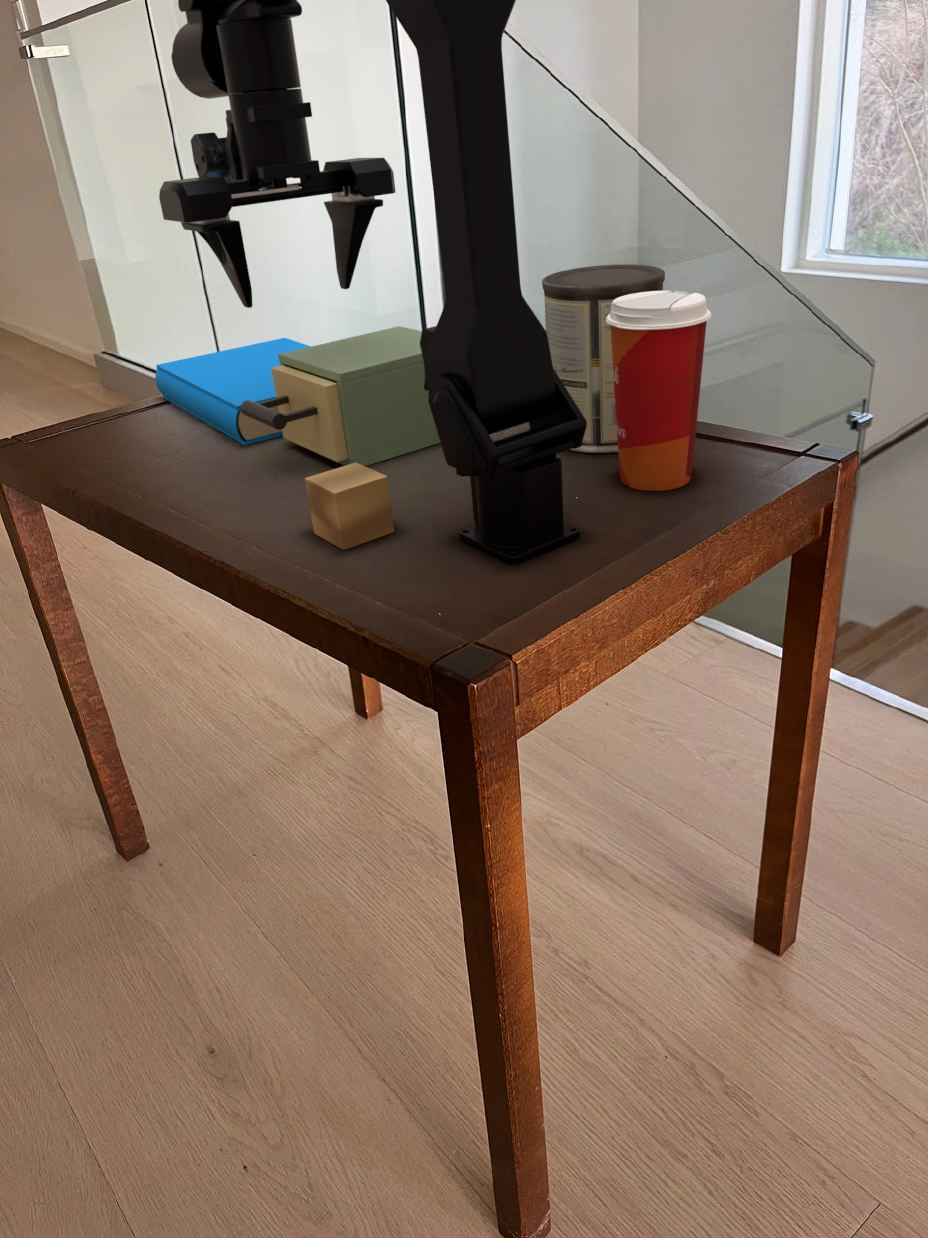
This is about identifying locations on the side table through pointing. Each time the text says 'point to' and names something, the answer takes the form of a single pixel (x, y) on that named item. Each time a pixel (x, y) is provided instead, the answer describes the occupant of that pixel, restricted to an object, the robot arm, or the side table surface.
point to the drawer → (304, 411)
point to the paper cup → (657, 384)
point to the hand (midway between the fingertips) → (297, 297)
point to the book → (226, 386)
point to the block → (350, 505)
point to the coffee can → (591, 339)
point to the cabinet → (375, 391)
